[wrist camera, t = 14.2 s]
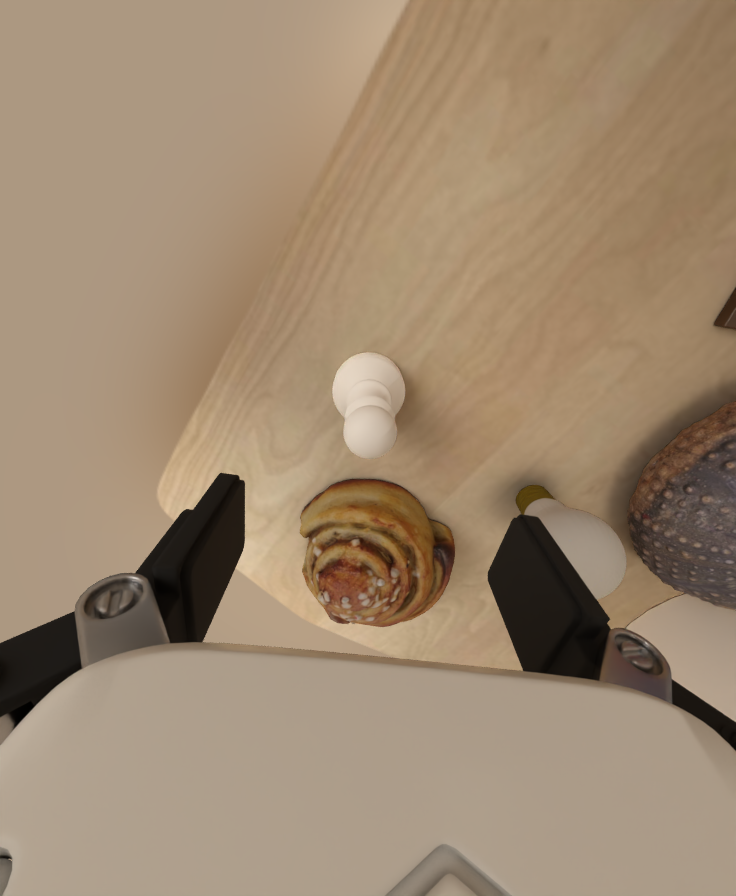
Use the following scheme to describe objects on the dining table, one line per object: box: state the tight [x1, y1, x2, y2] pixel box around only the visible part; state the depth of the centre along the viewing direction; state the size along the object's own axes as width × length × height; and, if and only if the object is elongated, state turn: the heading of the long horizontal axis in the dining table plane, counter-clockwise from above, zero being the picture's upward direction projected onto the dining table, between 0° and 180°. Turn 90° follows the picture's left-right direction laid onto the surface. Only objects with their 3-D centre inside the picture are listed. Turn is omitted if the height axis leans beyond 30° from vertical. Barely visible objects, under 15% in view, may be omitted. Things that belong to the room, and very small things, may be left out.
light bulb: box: [516, 485, 626, 600], centre depth 25 cm, size 6×6×10 cm
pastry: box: [300, 479, 455, 627], centre depth 28 cm, size 13×15×8 cm
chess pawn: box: [332, 352, 405, 459], centre depth 21 cm, size 5×5×9 cm
